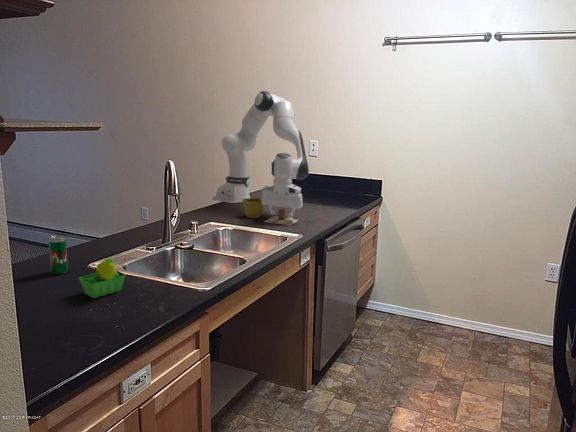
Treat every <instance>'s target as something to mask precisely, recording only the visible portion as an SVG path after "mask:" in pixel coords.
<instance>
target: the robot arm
mask: <svg viewBox="0 0 576 432" xmlns="http://www.w3.org/2000/svg"><path fill="white" fill-rule="evenodd" d="M269 117H273V118H272V127H273V128H272V129H273V133H274V134H275V135H276V136H277V137H279V138H280V139H282V140H284V141H287V142H289V143H291V144H293V145H294V147H295V149H296V157H297V158H296V159H295V158H292V155H291V154H289V153H286V152H281V153H278V154H276V155H275V158H274V160H273V161H272V162H271V172H270V174H271V175H272V176H273V183H272V184H273V186H268V185H265V186H264V187H262V188H261V192H262V195H261V196H262V197H261V200H262V204H263V206H268V209H269V211H270V216H271V215H272V216H274V215H275V210H273V207H278V208H288V209H290V210H291V212H289V213H288V217H291V218H293V216H294V215H293V214H294V212H295V210H296V209H301V208H303V203H304V202H303V200H304V199H303V194H302V187H300V186H297V185H296V184H293V180H294V179H296V180H298V181H299V180H302V181H303V180H304V179H305V178H307V177H308V176H309V174H310V167H309V166H310V165H309V163H308V160H307V155H306V149H305V143H304V140H303V135H302V132H301V130H300V129H298V128H297V126H296V124H295V111H294V106H293V104H292V103H291V101H289V100H286V99H285V98H283V97H281V96H279V95H278V94H274V93H270V92H269V91H266V90H265V91H264V90H262V91H260V92H258V94H256V97H254V102H253V104H252V105H251V106H250V108H249V109H248V111H247V112H246V114H245V116H244V117H243V118H242V120H241V129H240V131H238V132H234V133H232V132H231V133H229V134H227V135H225V136H223V138H222V140H221V147H222V149H223V151H225V153H226V155H227V158H228V167H229V169H228V171H229V172H228V173H229V175H228V176H226V177H225V178H224V179H225V181H226V182H225V183H223V184H222V185H221V186H219V187H218V188H217V190H216V192H215V195H214V196H213V197H211V198H212V199H211V200H212V201H218V202H223V203H224V202H225V203H230V204H236V203H243V200H242V199H247V198H251V196H250V189H249V187H250V176H249V171H250V170H249V166H250V165H249V162H248V161H247V158H246V156H245V153H247V152H250V151H251V150H253V149H254V148H255V147H256V145H257V137H258V134H259V132H260V131H261V130H262V127H264V124H265V123H266V121H267V120H268V118H269Z"/></svg>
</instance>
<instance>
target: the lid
mask: <svg viewBox="0 0 576 432" xmlns="http://www.w3.org/2000/svg"><path fill="white" fill-rule="evenodd" d="M277 211H278V212H277V214H278V215H275V216H274V215H272V216H269V218H268V219H269V221H270V222H272V223H271V224H275V223H277V225H284V224H289V223H292V222H294V218H293V217H289V216H285V215H286V209H285V208H279V209H278V210H277Z"/></svg>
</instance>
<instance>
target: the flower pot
mask: <svg viewBox="0 0 576 432" xmlns="http://www.w3.org/2000/svg"><path fill="white" fill-rule="evenodd" d="M242 200H243V202H242V209H243V212H244V215H245V216H246V217H247V218H249V219H255V218H260V217H261V215H262V214H263V211H264V210H263V209H264V205H263V204H262V198H261V199H260V198H259V197H253V198H252V197H250V198H247V199H242Z"/></svg>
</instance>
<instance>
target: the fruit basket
mask: <svg viewBox="0 0 576 432" xmlns="http://www.w3.org/2000/svg"><path fill="white" fill-rule="evenodd" d="M95 270H96V272H95V273H92V274H87V275H84V276H83V275H82V276H80V277H78V280H79V282H80V284H81V286H82V289H83V292H84V295H87V296H89V297H90V298H92V299H96V298H99V297H102V296H103V297H104V296H107V295H111V294H113V293H114V294H115V293H117V292H120V291H122V288H123V285H124V281H125V279H126V273H123V272H121V271H119V270H117V267H116V264H115V260H114V259H113V258H110V257H107V258H105V259H104V260H102V261H101V262H100V263H99V264H98V265H97V266H96V268H95Z"/></svg>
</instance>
